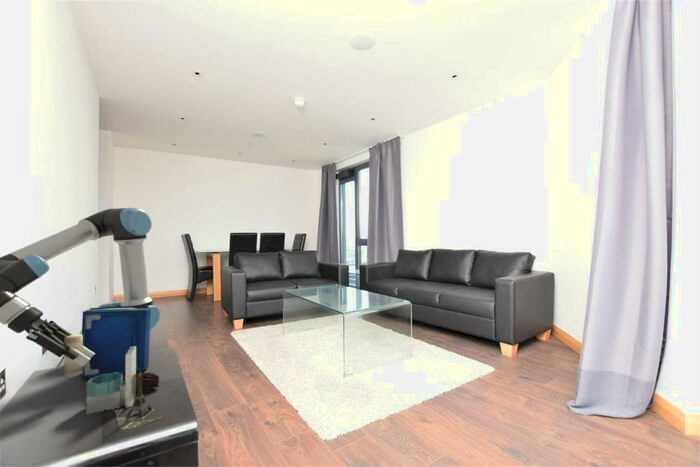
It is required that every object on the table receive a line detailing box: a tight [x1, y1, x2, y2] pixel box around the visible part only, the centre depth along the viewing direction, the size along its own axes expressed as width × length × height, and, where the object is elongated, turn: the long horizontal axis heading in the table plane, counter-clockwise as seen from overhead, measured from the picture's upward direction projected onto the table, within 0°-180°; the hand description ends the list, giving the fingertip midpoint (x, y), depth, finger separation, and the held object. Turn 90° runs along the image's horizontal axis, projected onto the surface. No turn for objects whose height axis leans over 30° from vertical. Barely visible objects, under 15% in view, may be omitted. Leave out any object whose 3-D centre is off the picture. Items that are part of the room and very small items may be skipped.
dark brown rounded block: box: [136, 371, 160, 393], centre depth 105 cm, size 18×7×6 cm, turn 111°
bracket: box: [85, 346, 137, 415], centre depth 97 cm, size 8×11×16 cm
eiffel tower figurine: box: [114, 372, 163, 430], centre depth 91 cm, size 15×10×13 cm
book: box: [79, 306, 151, 379], centre depth 120 cm, size 22×7×25 cm, turn 108°
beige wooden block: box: [64, 333, 83, 378], centre depth 100 cm, size 4×4×12 cm
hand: (88, 359), depth 102 cm, fingers closed on beige wooden block, 4 cm apart
